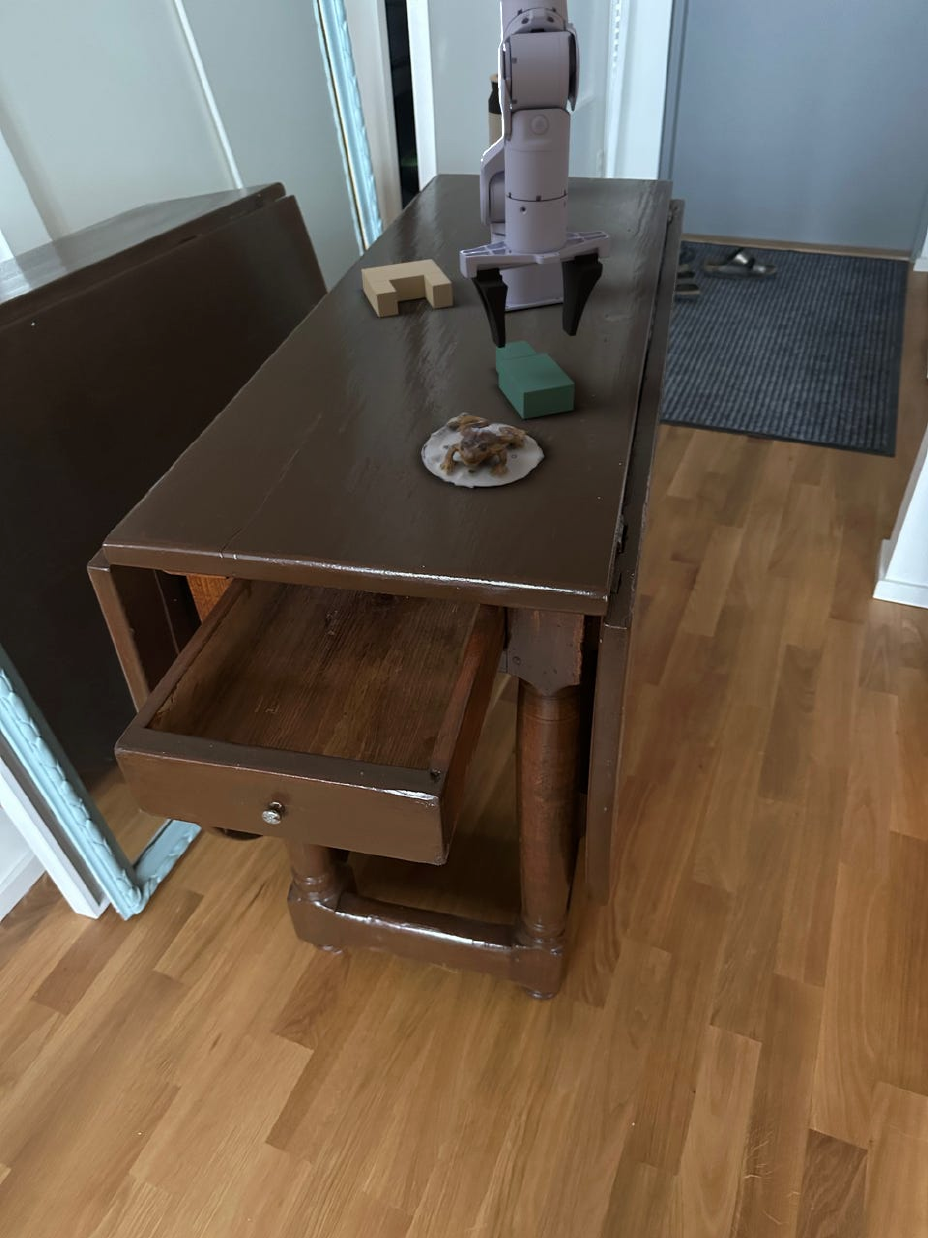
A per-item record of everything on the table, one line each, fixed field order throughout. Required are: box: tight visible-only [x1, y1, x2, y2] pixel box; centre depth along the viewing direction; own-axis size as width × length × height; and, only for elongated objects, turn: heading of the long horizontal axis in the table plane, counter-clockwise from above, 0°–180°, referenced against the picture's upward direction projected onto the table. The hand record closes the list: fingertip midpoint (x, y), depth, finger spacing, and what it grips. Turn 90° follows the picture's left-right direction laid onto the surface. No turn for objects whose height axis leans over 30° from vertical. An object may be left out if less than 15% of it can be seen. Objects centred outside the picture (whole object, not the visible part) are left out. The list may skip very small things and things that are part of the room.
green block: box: [495, 340, 576, 420], centre depth 89 cm, size 6×12×3 cm, turn 17°
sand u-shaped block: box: [360, 258, 454, 318], centre depth 110 cm, size 10×10×3 cm
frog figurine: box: [420, 412, 545, 489], centre depth 78 cm, size 12×12×4 cm
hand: (534, 338), depth 84 cm, fingers open, 7 cm apart
